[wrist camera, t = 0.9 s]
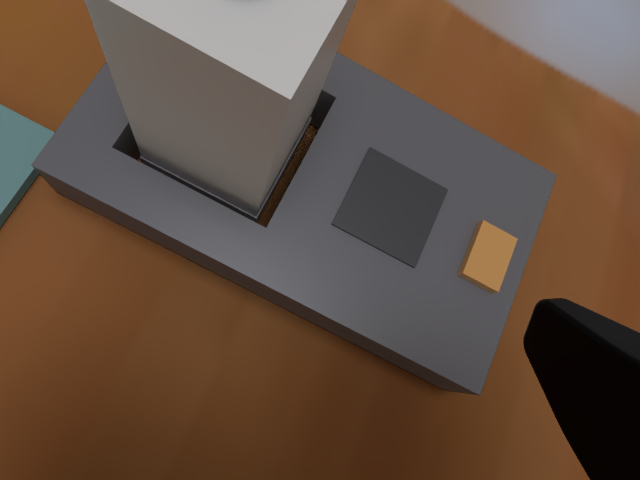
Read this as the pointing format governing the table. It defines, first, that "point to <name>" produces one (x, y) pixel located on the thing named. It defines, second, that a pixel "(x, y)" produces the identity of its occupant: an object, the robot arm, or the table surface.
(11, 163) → the mat
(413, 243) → the power strip
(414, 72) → the table surface
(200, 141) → the white tall block
